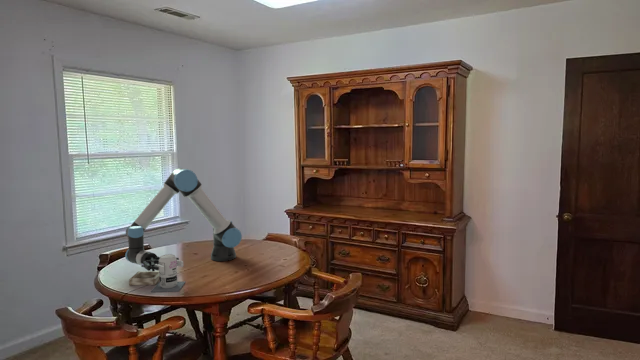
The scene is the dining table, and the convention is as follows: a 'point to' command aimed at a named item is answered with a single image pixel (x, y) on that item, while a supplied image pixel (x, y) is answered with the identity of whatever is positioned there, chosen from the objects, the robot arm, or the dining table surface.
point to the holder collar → (145, 278)
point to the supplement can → (168, 271)
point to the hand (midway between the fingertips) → (173, 266)
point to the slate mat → (173, 289)
